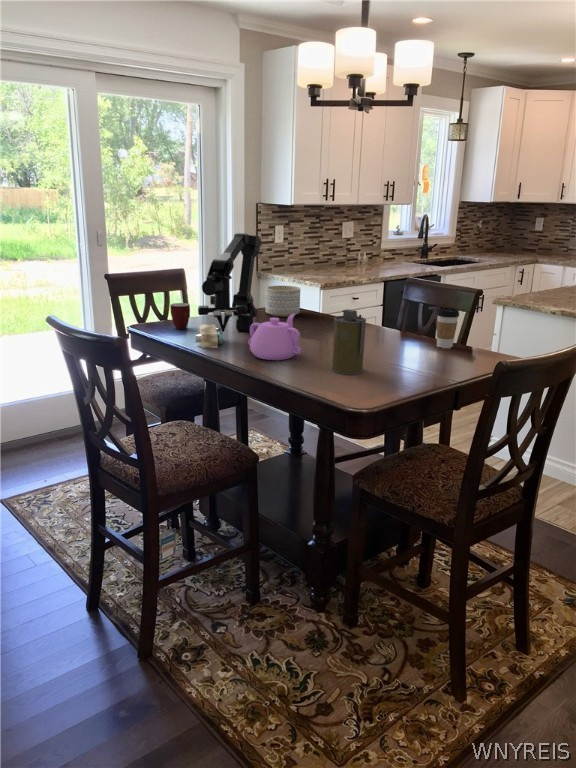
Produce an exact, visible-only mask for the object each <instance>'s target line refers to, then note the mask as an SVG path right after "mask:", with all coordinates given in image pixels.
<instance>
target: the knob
mask: <svg viewBox="0 0 576 768" xmlns="http://www.w3.org/2000/svg"><path fill="white" fill-rule="evenodd" d="M217 334H218V344H219V345H220V344H221V345H222V344H223V332H221V333H217ZM194 336H195V337H194V338H195V341H194V342H195V343H198V344H199V343H201V335H200V334H194Z"/></svg>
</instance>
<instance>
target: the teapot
mask: <svg viewBox="0 0 576 768" xmlns="http://www.w3.org/2000/svg"><path fill="white" fill-rule="evenodd" d="M294 315H295V314H291V315H290V316H289V317H287V320H286V322H283V321H280V317H271V318H269V321H264V322H261V323H260V322H253V324H252V325H251V326H250V332H249V335H250V338H249V339H248V341H247V344H248V345H249V350H250V352H251V353H252V354H253V355H254V357H256V358H258V359H262V360H268V361H281V360H288V359H291V358H293V357H294V356H295V355H300V354H301V352H302V348H301V346H299V342H300V339H301V333H300V330H298V329H297V328H296V327H293V326H294V325H293V320H294V318H295V316H296V315H295V316H294ZM255 327H257V328H256V330H255Z"/></svg>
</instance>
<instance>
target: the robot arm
mask: <svg viewBox="0 0 576 768" xmlns="http://www.w3.org/2000/svg"><path fill="white" fill-rule="evenodd" d="M232 238H233V239H232V240H231V241H230V242H229V244H228V245H227V247H226V248H225V250H224V251H223V252H222V253H221V254H218V255H216V256H215V258H213V260H212V262H211V264H210V266H209V269H208V272H207V274H206V275H207V276H206V279H205V280H204V281H203V283H202V285H201V290H202V292H203V293H204V294H205V295H206V296H209V298H210V299H209V302H210V305H212V306H213V305H214V307H209V305H199V306H198V307H197V313H198V316H208V315H209V314H211V313H212V315H213V317H214V318H216V319H217V321H218V323H219V326H220V327H219V328H220V329H221V333H224V332H225V329H226V327H227V324H228V321H229V320H230V318H232V317H237V318H235V328H236V330H237V332H238V333H239V332H241V333H244V332H245V333H246V332H247V333H250V326H251V325H252V324H253V323H254V318H256V317H257V314H258V310H257V308H256V307H255V305H254V298H253V295H252V293H251V291H252V283H253V275H254V267H255V265H254V264H255V260H256V259H255V258H256V257H257V255H258V254H259V253H260V249H261V246H262V238H260V236H259V235H254V234H253V235H252V234H247V233H245V232H236V233H234V235H233V237H232ZM240 252H241V255H242V261H241V268H240V269H241V270H240V277H239V287H238V291H237V292H236V294H234V295H233V296H232V297H233V298H232V299H233V300H232V302H231V298H230V297H231V295H230V294H231V293H230V291H231V289H230V287H231V286H230V285H231V284H230V283H231V282H230V280H232V276H231V275H230V274H231V273H232V271H233V269H234V267H235V265H234V261H235V259H236V258H237V257H238V255H239V254H240ZM221 313H223V316H222V314H221Z"/></svg>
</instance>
